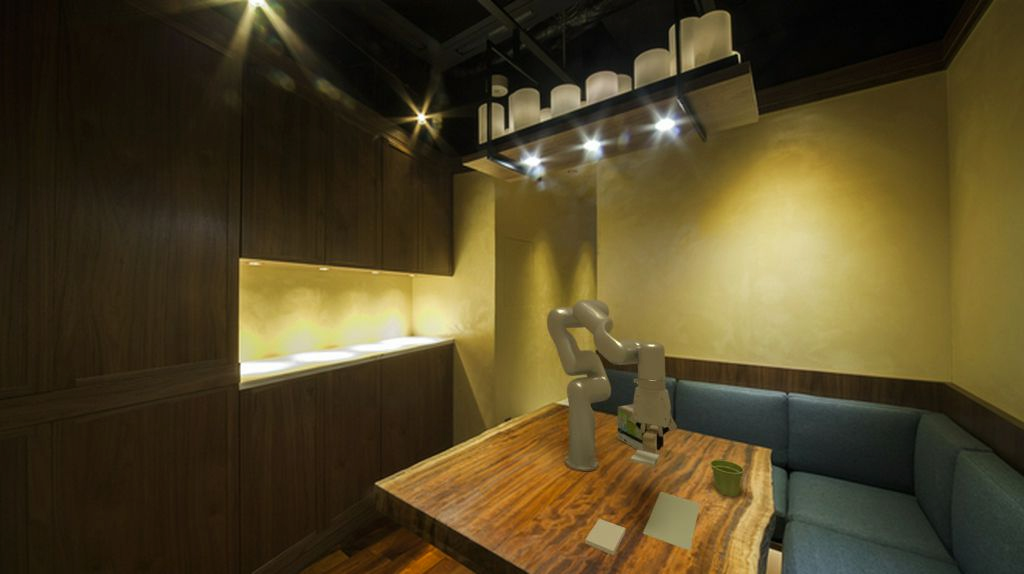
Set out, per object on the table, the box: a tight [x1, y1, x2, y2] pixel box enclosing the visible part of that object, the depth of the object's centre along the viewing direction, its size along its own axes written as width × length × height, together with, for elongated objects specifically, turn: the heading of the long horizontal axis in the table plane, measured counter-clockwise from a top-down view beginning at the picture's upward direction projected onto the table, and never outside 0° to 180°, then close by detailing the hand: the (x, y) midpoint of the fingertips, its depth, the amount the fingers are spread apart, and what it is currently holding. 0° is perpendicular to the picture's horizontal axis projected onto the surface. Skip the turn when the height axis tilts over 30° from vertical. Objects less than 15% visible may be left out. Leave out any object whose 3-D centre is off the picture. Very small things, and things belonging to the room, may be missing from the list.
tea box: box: [617, 403, 651, 451], centre depth 149 cm, size 15×10×15 cm, turn 25°
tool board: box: [642, 491, 701, 552], centre depth 97 cm, size 24×11×1 cm, turn 147°
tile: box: [584, 518, 626, 556], centre depth 88 cm, size 2×7×10 cm
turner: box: [630, 425, 665, 468], centre depth 102 cm, size 21×6×5 cm, turn 146°
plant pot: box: [709, 459, 745, 498], centre depth 112 cm, size 9×9×9 cm
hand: (652, 446), depth 103 cm, fingers closed on turner, 3 cm apart
